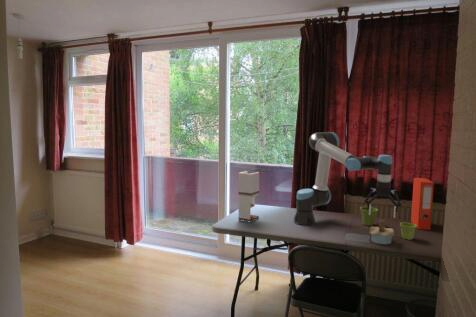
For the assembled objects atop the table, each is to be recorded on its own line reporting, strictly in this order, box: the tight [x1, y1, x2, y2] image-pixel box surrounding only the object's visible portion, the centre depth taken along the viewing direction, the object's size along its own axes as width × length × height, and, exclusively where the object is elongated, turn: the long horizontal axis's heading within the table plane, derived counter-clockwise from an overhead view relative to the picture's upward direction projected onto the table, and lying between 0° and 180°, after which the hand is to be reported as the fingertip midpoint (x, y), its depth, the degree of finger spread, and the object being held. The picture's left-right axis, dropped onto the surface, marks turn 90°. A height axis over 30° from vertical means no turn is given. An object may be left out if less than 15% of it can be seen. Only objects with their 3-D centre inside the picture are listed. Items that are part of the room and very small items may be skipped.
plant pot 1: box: [359, 206, 379, 227], centre depth 241 cm, size 12×12×11 cm
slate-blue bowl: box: [370, 234, 392, 245], centre depth 208 cm, size 11×11×6 cm
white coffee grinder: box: [238, 170, 260, 223], centre depth 252 cm, size 11×11×35 cm
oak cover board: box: [369, 219, 394, 238], centre depth 207 cm, size 13×13×7 cm
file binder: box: [410, 177, 435, 231], centre depth 237 cm, size 8×17×32 cm, turn 167°
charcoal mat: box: [343, 232, 371, 244], centre depth 214 cm, size 14×14×1 cm
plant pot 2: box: [399, 222, 417, 241], centre depth 214 cm, size 9×9×9 cm
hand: (381, 216), depth 207 cm, fingers open, 13 cm apart
